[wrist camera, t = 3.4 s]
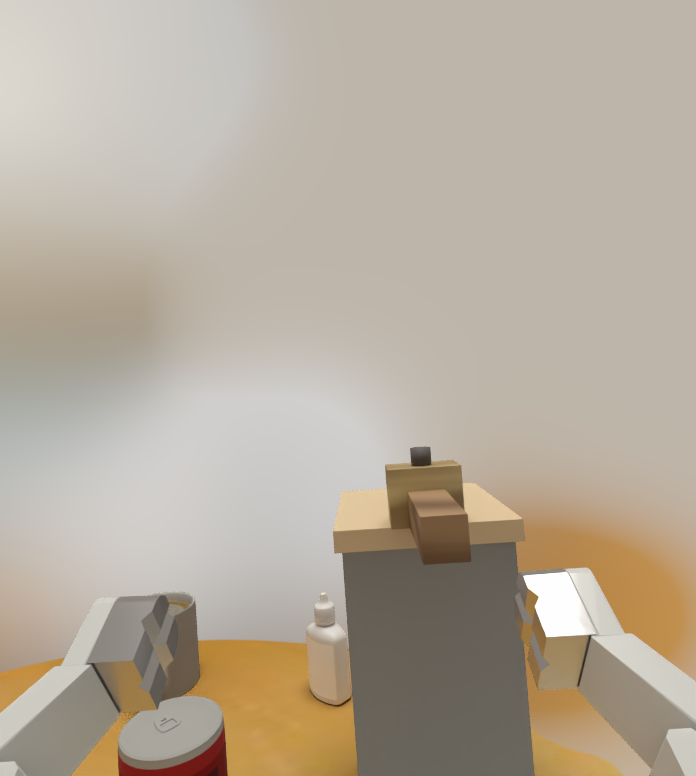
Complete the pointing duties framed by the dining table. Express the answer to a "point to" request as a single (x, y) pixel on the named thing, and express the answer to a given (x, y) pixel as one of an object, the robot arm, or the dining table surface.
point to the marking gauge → (430, 506)
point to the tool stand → (434, 644)
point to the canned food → (175, 740)
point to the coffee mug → (182, 646)
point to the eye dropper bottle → (327, 655)
